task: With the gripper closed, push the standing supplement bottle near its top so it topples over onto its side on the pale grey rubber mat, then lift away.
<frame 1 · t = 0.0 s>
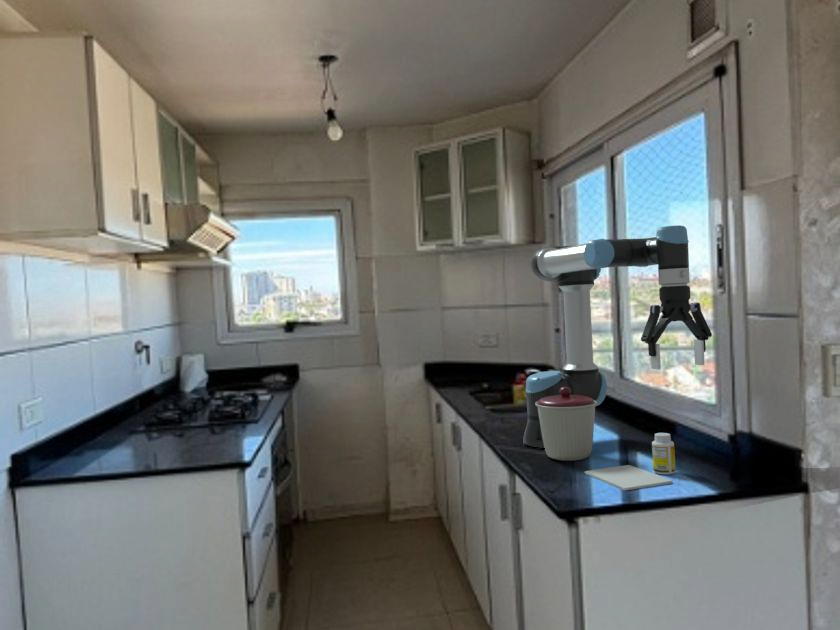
hand: (678, 367, 169), 28 cm above the counter, fingers open, 13 cm apart
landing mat: (627, 478, 168), on the counter
supplement bottle: (664, 473, 171), on the counter
canister: (568, 457, 193), on the counter
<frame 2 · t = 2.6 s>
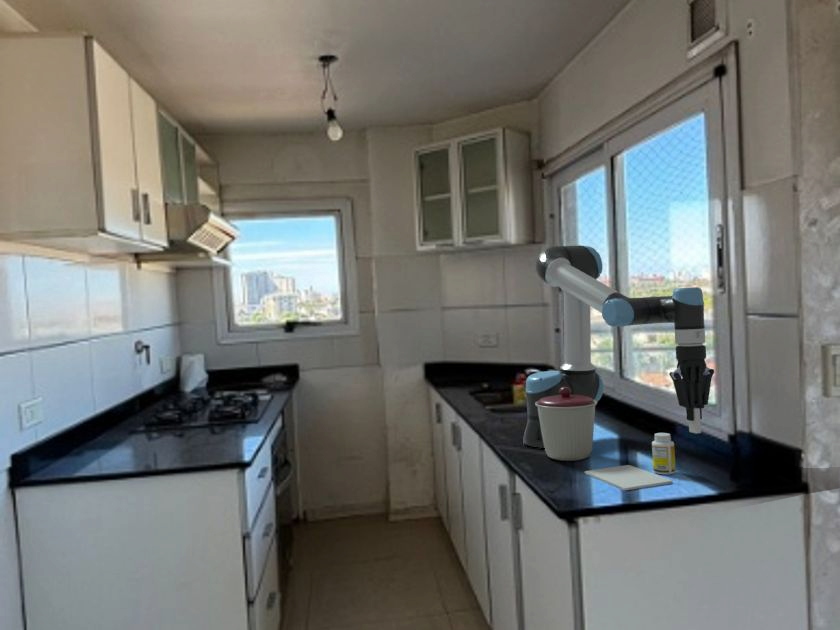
hand: (695, 432, 174), 10 cm above the counter, fingers closed
nothing on the counter moved.
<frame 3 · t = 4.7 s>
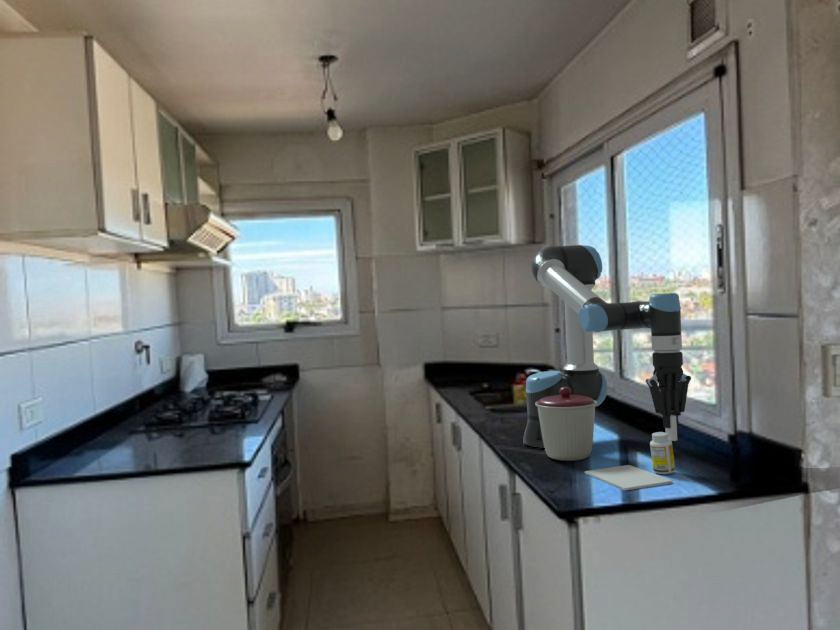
hand: (671, 439, 172), 8 cm above the counter, fingers closed
supplement bottle: (664, 472, 171), on the counter, touching gripper
everything else where it was.
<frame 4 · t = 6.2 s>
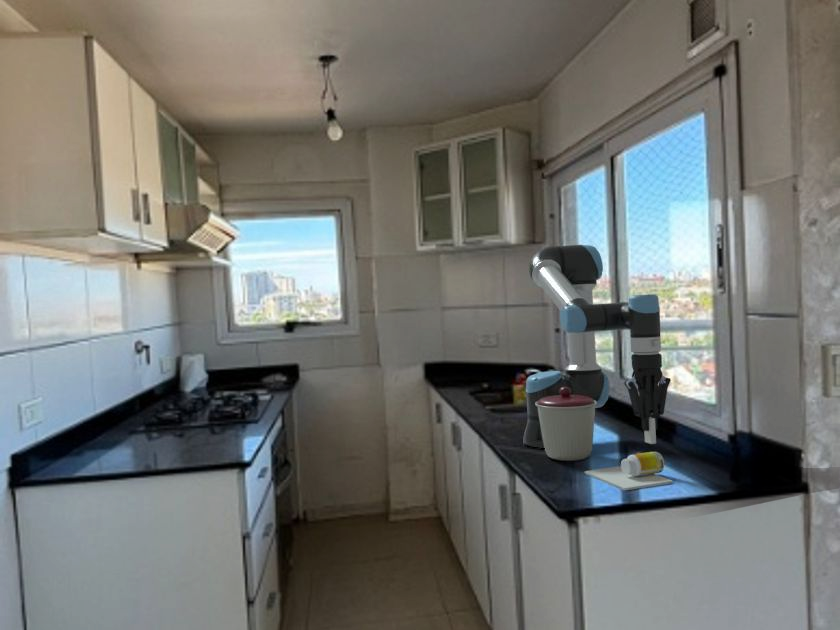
hand: (650, 442, 170), 8 cm above the counter, fingers closed
supplement bottle: (659, 461, 170), point 3 cm above the counter, touching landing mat
everything else where it was.
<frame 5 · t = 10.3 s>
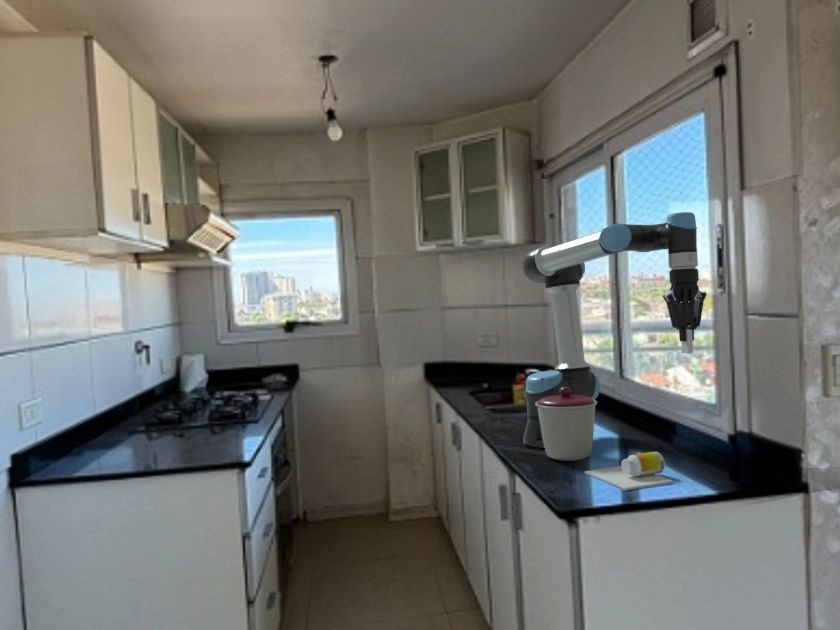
hand: (687, 352, 181), 30 cm above the counter, fingers closed
nothing on the counter moved.
at the end: supplement bottle tilted 90°; supplement bottle inside the target area (5.7 cm from its centre), point 3.4 cm above the counter; canister moved 0.2 cm from its start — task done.
